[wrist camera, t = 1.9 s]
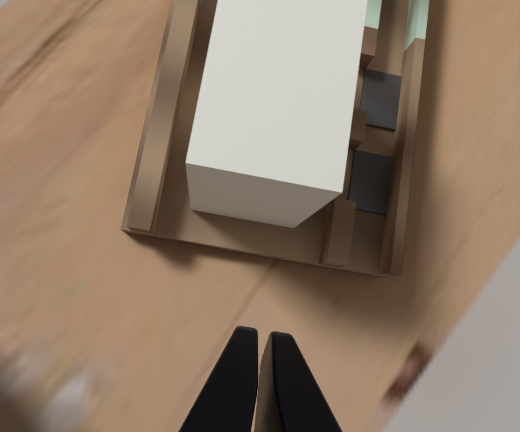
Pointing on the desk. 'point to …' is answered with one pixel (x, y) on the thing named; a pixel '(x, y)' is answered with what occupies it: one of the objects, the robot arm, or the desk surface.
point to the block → (275, 108)
